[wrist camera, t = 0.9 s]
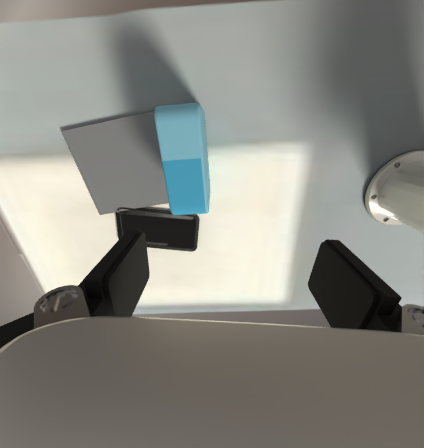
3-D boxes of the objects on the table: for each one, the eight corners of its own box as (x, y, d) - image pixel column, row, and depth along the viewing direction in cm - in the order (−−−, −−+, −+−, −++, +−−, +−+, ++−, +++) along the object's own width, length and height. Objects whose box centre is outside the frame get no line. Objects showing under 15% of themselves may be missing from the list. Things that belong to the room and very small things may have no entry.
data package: (174, 113, 30) (151, 104, 19) (204, 110, 30) (198, 100, 19) (184, 191, 35) (171, 219, 24) (210, 189, 35) (208, 217, 24)
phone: (115, 207, 35) (199, 216, 36) (118, 204, 36) (200, 213, 37) (119, 244, 39) (196, 252, 39) (121, 241, 40) (196, 249, 40)
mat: (163, 109, 29) (162, 108, 29) (185, 198, 35) (185, 199, 35) (63, 131, 31) (61, 131, 30) (101, 213, 37) (99, 214, 36)
